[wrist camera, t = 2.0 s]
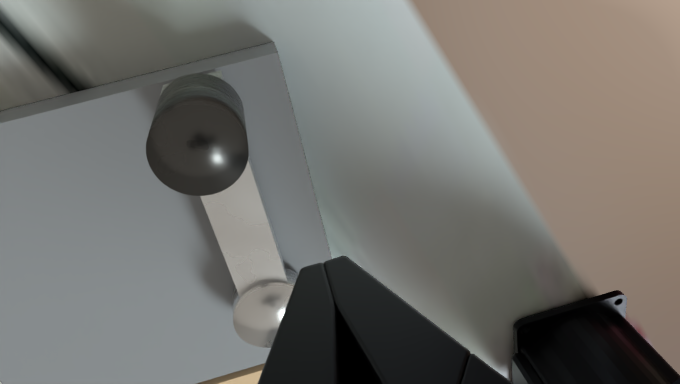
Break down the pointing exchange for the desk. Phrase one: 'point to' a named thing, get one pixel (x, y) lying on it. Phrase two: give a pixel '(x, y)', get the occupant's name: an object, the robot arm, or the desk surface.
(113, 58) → the desk surface
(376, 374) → the robot arm
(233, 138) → the door handle
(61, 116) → the door board
